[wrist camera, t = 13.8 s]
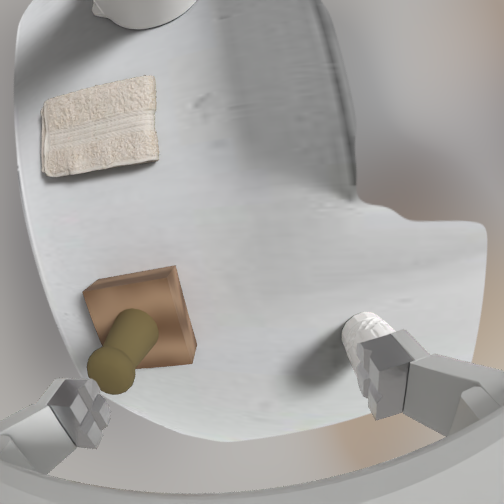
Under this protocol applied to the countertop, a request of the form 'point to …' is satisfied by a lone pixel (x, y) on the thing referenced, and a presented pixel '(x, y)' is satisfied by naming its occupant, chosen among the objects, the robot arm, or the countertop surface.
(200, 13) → the countertop surface
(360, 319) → the white cup
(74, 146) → the washcloth
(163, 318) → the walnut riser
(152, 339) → the olive tapered upright piece
